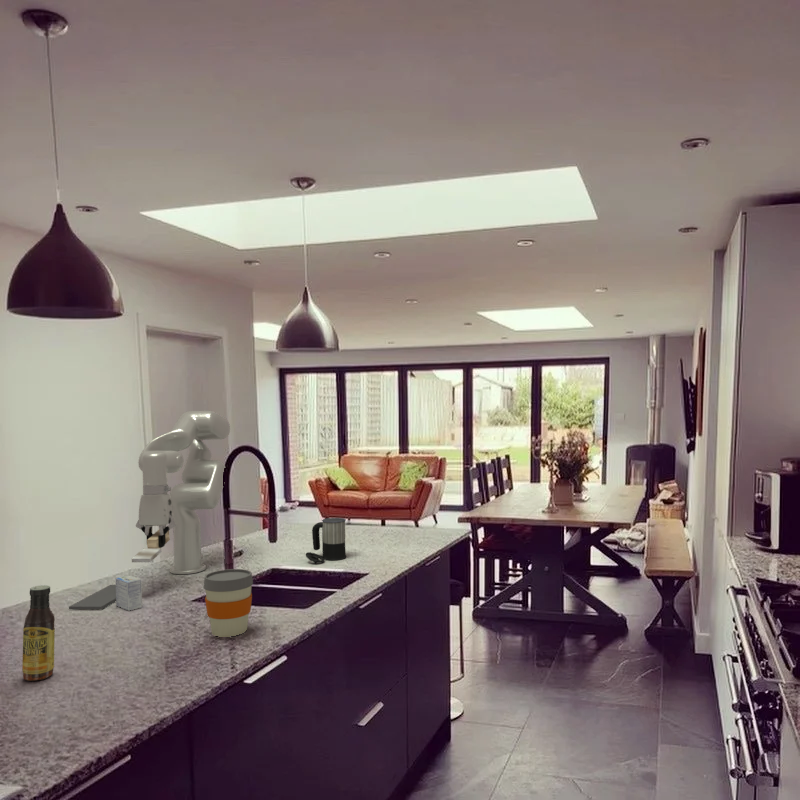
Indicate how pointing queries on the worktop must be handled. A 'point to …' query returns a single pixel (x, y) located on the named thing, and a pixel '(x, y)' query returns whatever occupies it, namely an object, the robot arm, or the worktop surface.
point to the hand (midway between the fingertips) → (156, 546)
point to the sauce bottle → (38, 636)
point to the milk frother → (329, 540)
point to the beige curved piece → (150, 549)
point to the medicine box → (128, 592)
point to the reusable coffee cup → (228, 601)
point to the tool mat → (97, 599)
